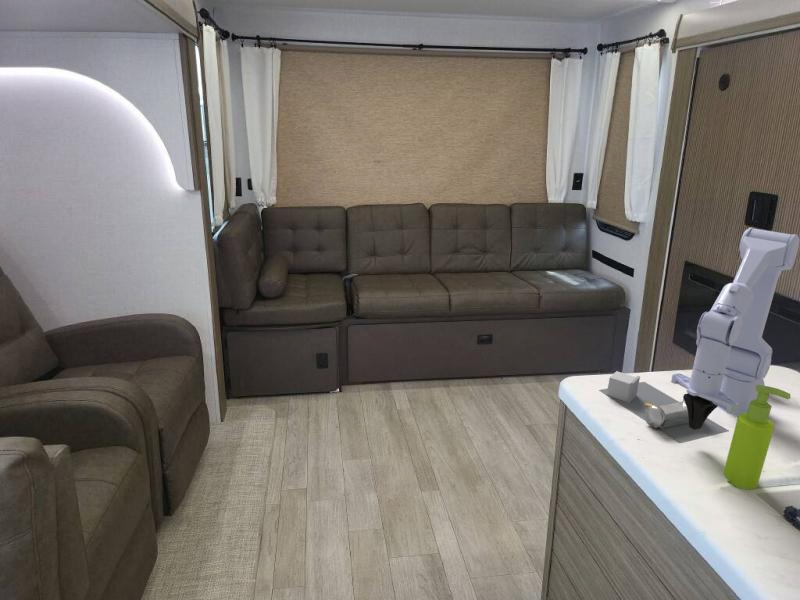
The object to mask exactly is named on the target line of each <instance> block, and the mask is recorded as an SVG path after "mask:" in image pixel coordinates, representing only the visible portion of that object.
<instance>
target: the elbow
mask: <svg viewBox="0 0 800 600" xmlns="http://www.w3.org/2000/svg"><path fill="white" fill-rule="evenodd" d="M644 417H645V420H646V421H645V420H644V421H645V422H646V424H647V425H648V426H649V427H650V428H654V429H657V427H659V428H661V429H663V428H667V427H672V426H676V425H681V424H685V423H689V417H688V410H687V406H686V403H685V401H684V399H683V400H682V401H679V402H677V403H673V404H668V405H663V406H652V407H648V408H646V410H645V412H644Z"/></svg>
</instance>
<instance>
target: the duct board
mask: <svg viewBox="0 0 800 600" xmlns="http://www.w3.org/2000/svg"><path fill="white" fill-rule="evenodd" d="M640 379H641V376H639V375H637V376H634V375H631V374H626V373H624V372H620V371H618V370H616V371H615V372H614V373H613V374H611V376H610V377H609V380H608V384H607V388H603V389H599V390H598V391H599V392H600V393H602V394H604V395H605V396H606V397H608V398H609V399H611V400H613V401H614V402H616V403H617V404H618V405H620V406H622V407H624V408H625V409H626V410H627V411H629V412H631V413H633V414H634V415H636V416H637V417H638V418H640V419H641V420H643V421H645V422H646V420H645V417H644V412H645V410H646V408H648V407H652V406H663V405H668V404H673V403H677V402H680V401H679V400H677V399H675V398H673V397H672V396H670V395H668V394H666V393H665V392H663V391H662V390H660V389H658V388H656V387H654V386H652V385H651V384H649V383H647V382H646V381H640ZM656 429H657V430H658V431H660V432H661V433H663V434H665V436H668V437H669V438H671V439H672V440H674V441H675V442H676V443H678V444H681V443H686V442H690V441H695V440H699V439H702V438H707V437H710V436H715V435H718V434H723V433H727V432H729V431H730V430H729V429H727V428H725V427H724V426H722V425H721V424H719V423H716V422H714V421H713V420H712V419H709V418H708V417H707V419H706V420H705V422H704V423H703V425H702V427H701V428H700V429H696V430H694V429H692V428H690V427H689V423H685V424H681V425H676V426H672V427H667V428H663V429H661V428H659V427H657V428H656Z"/></svg>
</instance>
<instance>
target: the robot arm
mask: <svg viewBox="0 0 800 600" xmlns="http://www.w3.org/2000/svg"><path fill="white" fill-rule="evenodd" d="M799 248H800V237H799V235H798V234H794V233H793V234H790V233H786V232H785V233H784V232H777V231H771V230H765V229H758V228H754V227H749V228H747V229H745V231H744V232H743V234H742V236H741V238H740V243H739V253H740V259H742V260H741V263H740V265H739V268H738V270H737V271H736V275H735V276H734V279H733V281H732V282H729V283H727V284H725V285H724V286H723V287H722V290H721V291H720V293H719V295H718V296H717V297H716V299H715V302H714V303H713V305H712V307H711V309H710V310H709V311H705V312H703V313H702V315H701V316H700V318H699V320H698V325H697V329H696V342H695V344H696V346H697V349H696V351H695V352H696V353H695V358H694V361H693V366H692V370H691V376H687V375H684V374H683V373H679V372H678V373H677V372H676V373H673V374H672V375H671V381H670V383H672V384H674V385H679V386H681V387H682V388H685V389H686V392H685V393H683V399H684V401H685V403H686V406H687V410H688V417H689V427H690V428H692V429H694V430H696V429H700V428H701V427H702V425H703V423H704V422H705V420H706V419H707V418H708V417H709V416H710V415H711V414H712V413H713V412H714V410H715V409H717V408H718V409H720V410H722V411H723V412H725V413H726V414H729V415H731V416H733V417H737V418H738V415H739V414H741V413H747V412H748V408H749V404H750V401H751V400H756V399H757V395H758V391H756V385H763V386H766V385H765V380H764V379H765V378H766V376H767V375H768V372H769V370H770V368H771V363H772V356H773V348H772V347H771V346H770V345H769V344H768V343H767V342H766V341H765V340H764V338H763V334H764V331H765V326H766V323H767V320H768V315H769V312H770V309H771V305H772V301H773V298H774V295H775V291H776V287H777V284H778V280H779V277H780V276H781V273H782V272H783V271H790V270H792V269H793V266H794V264H795V262H796V258H797V255H798V252H799Z"/></svg>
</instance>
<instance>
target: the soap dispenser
mask: <svg viewBox="0 0 800 600" xmlns="http://www.w3.org/2000/svg"><path fill="white" fill-rule="evenodd" d="M756 391H758V395H757V399H756V400H751V401H750V404H749V408H748V412H747V413H741V414H739V415H737V419H736V423H735V426H734V431H733V434H732V438H731V442H730V447H729V450H728V453H727V456H726V457H727V458H726V462H725V465H724V469H723V476H724V477H725V478H726V479H727V483H728V484H730V485H732V486H734V487H736V488H738V489H742V490H749V491H750V490H751V491H752V490H755V489H757V488H758V485H759V482H760V479H761V476H762V475H761V474H762V472H763V469H764V465H765V461H766V457H767V454H768V451H769V447H770V444H771V441H772V438H773V433H774V429H775V423H774V422H773V421H772V420H770V419H769V417H770V414H771V410H772V406H771V404H770V403H769V402H768V400H769V396H770V395H774V396H778V397H781V398H783V399H785V400H789V399H791V393H790V392H787V391H785V390H782V389H779V388H777V387H772V386H767V385H765V386H763V385H756Z"/></svg>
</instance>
